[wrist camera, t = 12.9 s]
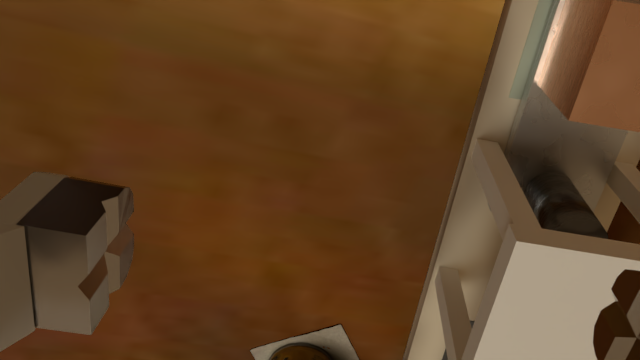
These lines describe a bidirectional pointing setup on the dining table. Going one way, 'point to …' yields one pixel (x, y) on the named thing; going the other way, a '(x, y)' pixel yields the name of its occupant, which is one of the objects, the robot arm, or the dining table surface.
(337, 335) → the condiment
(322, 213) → the dining table surface
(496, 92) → the track
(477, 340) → the tunnel
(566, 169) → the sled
